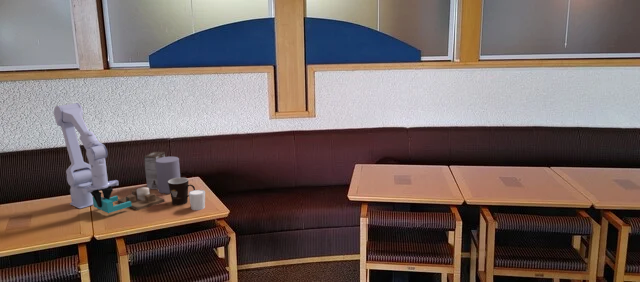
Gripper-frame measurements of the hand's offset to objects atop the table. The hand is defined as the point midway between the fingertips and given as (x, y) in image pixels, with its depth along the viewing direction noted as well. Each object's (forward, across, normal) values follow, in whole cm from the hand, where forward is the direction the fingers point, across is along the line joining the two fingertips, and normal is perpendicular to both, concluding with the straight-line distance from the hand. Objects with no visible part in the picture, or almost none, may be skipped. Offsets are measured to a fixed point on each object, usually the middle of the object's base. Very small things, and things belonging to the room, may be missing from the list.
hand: (103, 205), depth 217 cm
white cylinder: (+3, +28, -26) cm, 38 cm away
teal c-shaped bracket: (+1, +4, 0) cm, 4 cm away
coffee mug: (+3, +27, -16) cm, 32 cm away
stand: (+3, +17, 0) cm, 17 cm away
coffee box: (+4, +34, +13) cm, 37 cm away
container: (+4, +34, +3) cm, 34 cm away
